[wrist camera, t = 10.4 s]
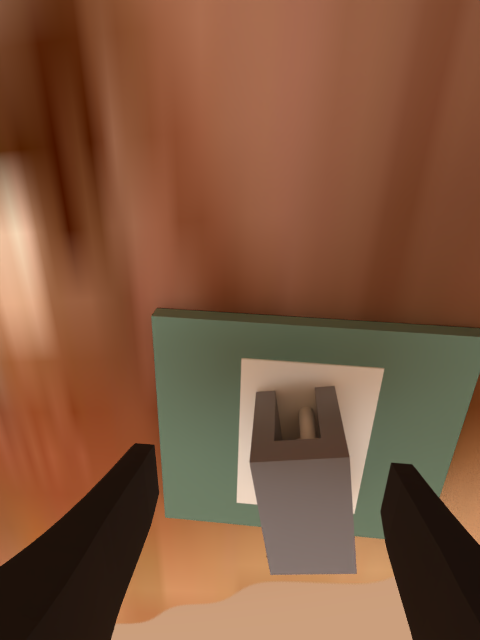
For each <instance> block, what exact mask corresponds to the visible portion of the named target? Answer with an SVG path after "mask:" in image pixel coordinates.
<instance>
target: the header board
mask: <svg viewBox="0 0 480 640" xmlns="http://www.w3.org/2000/svg"><path fill="white" fill-rule="evenodd" d="M151 319H152V333H153V347H154V362H155V376H156V391H157V405H158V420H159V434H160V448H161V463H162V477H163V492H164V506H165V517H167V518H177V519H187V520H197V521H207V522H217V523H228V524H238V525H248V526H258V527H261V521H260V516H259V511H258V506H257V500H256V495H255V490H254V484H253V479H252V474H251V469H250V463H249V461H250V451H251V440H252V430H253V419H254V408H255V398H256V392H262V391H275V392H276V399H277V406H278V413H279V420H280V427H281V434H282V440H299V439H316V438H319V428H318V418H317V408H316V397H315V387H326V386H335V390H336V395H337V399H338V404H339V409H340V414H341V418H342V423H343V428H344V433H345V437H346V442H347V447H348V451H349V456H350V470H351V486H352V503H353V520H354V536H359V537H369V538H379V539H385V537H384V532H383V526H382V519H381V513H380V510H381V506H382V501H383V497H384V492H385V488H386V483H387V479H388V474H389V470H390V465H391V463H404V464H413V466H414V467H415V468H416V469H417V470H418V472H419V473H420V474H421V476H422V477H423V478H424V479H425V481H426V482H427V483H428V484H429V486H430V487H431V488H432V489H433V491H434V492H435V493H436V495H437V496H438V497H440V494H441V491H442V488H443V485H444V482H445V479H446V475H447V472H448V469H449V466H450V463H451V460H452V457H453V454H454V451H455V447H456V444H457V441H458V438H459V435H460V432H461V429H462V426H463V423H464V420H465V416H466V413H467V410H468V407H469V404H470V401H471V398H472V395H473V392H474V389H475V385H476V382H477V379H478V376H479V373H480V328H468V327H452V326H436V325H420V324H404V323H388V322H372V321H356V320H340V319H324V318H308V317H292V316H276V315H260V314H244V313H228V312H212V311H196V310H180V309H164V308H157V309H156V310H155V312H154V313H153V314H152V316H151Z"/></svg>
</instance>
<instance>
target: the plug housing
mask: <svg viewBox="0 0 480 640" xmlns="http://www.w3.org/2000/svg"><path fill="white" fill-rule="evenodd" d="M315 397H316V408H317V418H318V428H319V438H316V439H299V440H282V434H281V427H280V420H279V413H278V406H277V399H276V392H275V391H262V392H256V398H255V408H254V419H253V430H252V440H251V451H250V461H249V463H250V469H251V474H252V479H253V484H254V490H255V495H256V500H257V506H258V511H259V516H260V521H261V527H262V532H263V537H264V542H265V548H266V553H267V558H268V564H269V569H270V574H271V575H292V574H357V570H356V553H355V536H354V520H353V503H352V486H351V470H350V456H349V451H348V447H347V442H346V437H345V433H344V428H343V423H342V418H341V414H340V409H339V404H338V399H337V395H336V390H335V386H326V387H315Z"/></svg>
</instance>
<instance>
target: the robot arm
mask: <svg viewBox="0 0 480 640" xmlns="http://www.w3.org/2000/svg"><path fill="white" fill-rule="evenodd" d="M158 495H159V488H158V477H157V467H156V457H155V446H154V445H150V444H137V443H135V444H134V445H133V446H132V447H131V448H130V449H129V450H128V451H127V452H126V453H125V454H124V456H123V457H122V458H121V459H120V460H119V461H118V462H117V463H116V464H115V465H114V467H113V468H112V469H111V470H110V471H109V472H108V473H107V474H106V475H105V476H104V477H103V478H102V479H101V480H100V481H99V482H98V483H97V484H96V485H95V486H94V487H93V488H92V489H91V491H90V492H89V493H88V494H87V495H86V496H85V497H84V498H82V499H81V500H80V501H79V502H78V503H77V504H76V505H75V506H74V507H73V508H72V509H71V510H70V511H69V512H67V513H66V514H65V515H64V516H63V517H62V518H61V519H60V520H59V521H58V522H56V523H55V524H54V525H53V526H52V527H51V528H50V529H48V530H47V531H46V532H45V533H44V534H42V535H41V536H40V537H39V538H37V539H36V540H35V541H34V542H33V543H31V544H30V545H29V546H27V547H26V548H25V549H23V550H22V551H21V552H19V553H18V554H17V555H15V556H14V557H13V558H11V559H10V560H9V561H7V562H6V563H5V564H3V565H2V566H0V640H111V637H112V633H113V630H114V626H115V623H116V619H117V616H118V613H119V610H120V607H121V604H122V601H123V599H124V596H125V593H126V591H127V588H128V585H129V583H130V580H131V577H132V575H133V572H134V569H135V567H136V564H137V562H138V559H139V556H140V554H141V551H142V548H143V546H144V543H145V540H146V537H147V535H148V532H149V529H150V526H151V523H152V519H153V515H154V512H155V507H156V503H157V499H158ZM380 513H381V519H382V526H383V532H384V537H385V543H386V548H387V551H388V555H389V559H390V562H391V566H392V569H393V573H394V576H395V580H396V583H397V586H398V590H399V593H400V597H401V600H402V603H403V607H404V610H405V614H406V617H407V621H408V624H409V627H410V631H411V635H412V639H413V640H480V545H479V544H478V543H477V542H476V541H475V539H474V538H473V537H472V536H471V535H470V534H469V533H468V532H467V530H466V529H465V528H464V527H463V526H462V525H461V523H460V522H459V521H458V520H457V519H456V518H455V516H454V515H453V514H452V513H451V512H450V510H449V509H448V508H447V507H446V506H445V504H444V503H443V502H442V501H441V499H440V498H439V497H438V496H437V495H436V493H435V492H434V491H433V489H432V488H431V487H430V486H429V484H428V483H427V482H426V481H425V479H424V478H423V477H422V476H421V474H420V473H419V472H418V470H417V469H416V468H415V467H414V466H413V464H404V463H391V465H390V470H389V474H388V479H387V483H386V488H385V492H384V497H383V501H382V506H381V510H380Z"/></svg>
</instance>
